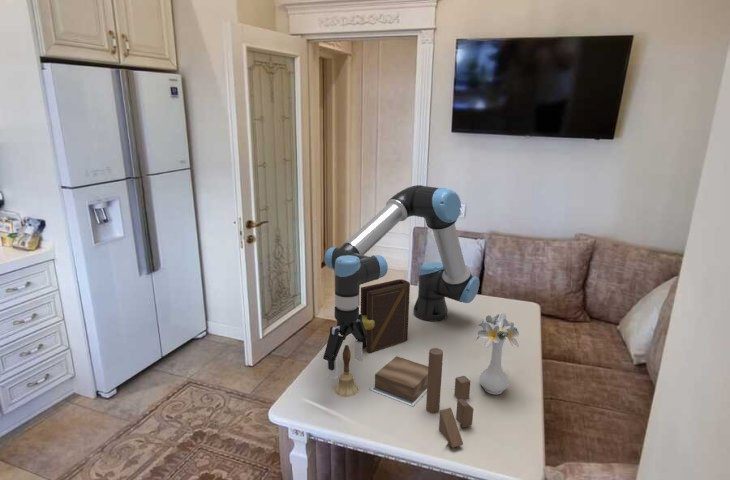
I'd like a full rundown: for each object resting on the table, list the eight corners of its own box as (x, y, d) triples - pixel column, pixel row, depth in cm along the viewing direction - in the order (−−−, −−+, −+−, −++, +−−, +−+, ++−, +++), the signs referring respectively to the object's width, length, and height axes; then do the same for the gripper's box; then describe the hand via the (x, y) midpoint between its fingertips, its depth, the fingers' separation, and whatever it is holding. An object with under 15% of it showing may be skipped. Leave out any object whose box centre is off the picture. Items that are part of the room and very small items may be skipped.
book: (397, 335, 183) (400, 277, 176) (411, 344, 176) (413, 284, 169) (352, 349, 171) (352, 288, 165) (364, 359, 164) (365, 295, 158)
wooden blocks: (452, 448, 119) (457, 381, 114) (416, 406, 137) (419, 347, 132) (503, 432, 126) (510, 369, 121) (462, 394, 143) (467, 337, 138)
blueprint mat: (396, 367, 159) (396, 365, 159) (437, 381, 150) (437, 379, 150) (368, 391, 144) (368, 389, 144) (412, 408, 136) (413, 406, 136)
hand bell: (330, 387, 146) (329, 342, 142) (353, 381, 149) (354, 338, 145) (338, 401, 139) (338, 354, 135) (363, 395, 142) (364, 349, 138)
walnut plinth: (395, 368, 156) (396, 356, 155) (432, 381, 149) (433, 368, 148) (374, 387, 145) (375, 373, 144) (413, 402, 138) (413, 388, 136)
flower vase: (510, 376, 154) (517, 308, 148) (515, 407, 137) (523, 333, 131) (471, 371, 157) (477, 304, 151) (471, 401, 140) (477, 328, 133)
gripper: (359, 291, 149) (358, 349, 154) (311, 316, 129) (311, 382, 134) (378, 296, 145) (376, 356, 150) (331, 323, 125) (331, 390, 130)
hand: (346, 368), depth 142 cm, fingers open, 13 cm apart
